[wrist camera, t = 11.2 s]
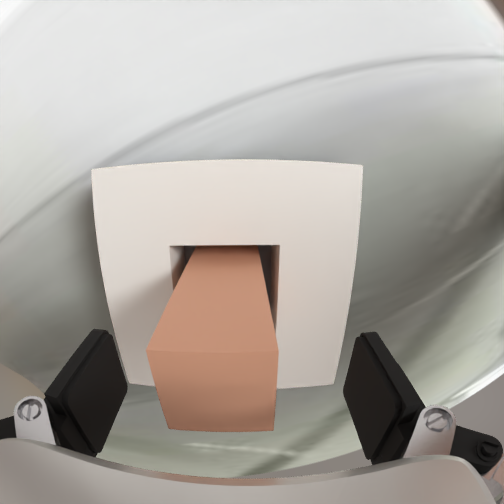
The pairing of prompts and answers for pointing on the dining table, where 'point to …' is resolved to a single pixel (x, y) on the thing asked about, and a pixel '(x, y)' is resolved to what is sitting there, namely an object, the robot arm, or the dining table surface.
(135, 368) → the socket block
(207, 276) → the peg
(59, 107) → the dining table surface
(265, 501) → the robot arm
